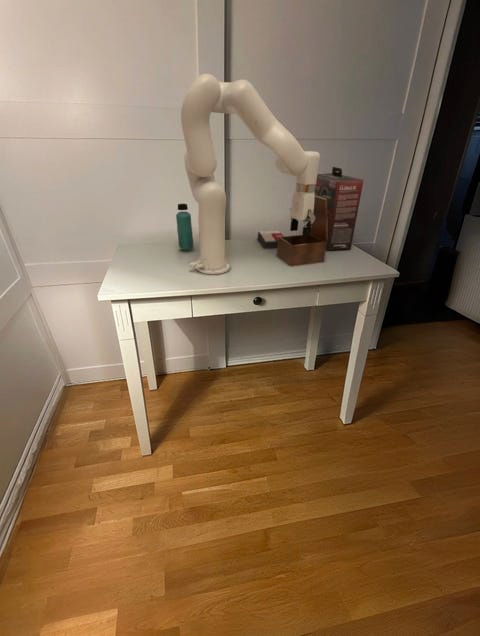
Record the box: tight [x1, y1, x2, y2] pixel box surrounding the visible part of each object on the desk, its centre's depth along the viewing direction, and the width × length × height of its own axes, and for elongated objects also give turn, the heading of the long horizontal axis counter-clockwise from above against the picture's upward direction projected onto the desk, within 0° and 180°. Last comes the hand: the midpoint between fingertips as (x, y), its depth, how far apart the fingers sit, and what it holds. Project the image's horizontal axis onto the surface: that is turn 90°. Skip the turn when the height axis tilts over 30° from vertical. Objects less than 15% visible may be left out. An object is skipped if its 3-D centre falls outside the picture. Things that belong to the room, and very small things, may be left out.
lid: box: [310, 195, 333, 241], centre depth 126 cm, size 16×13×6 cm
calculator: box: [257, 230, 284, 249], centre depth 149 cm, size 11×4×15 cm
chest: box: [276, 234, 327, 267], centre depth 130 cm, size 16×13×8 cm
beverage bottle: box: [175, 203, 194, 251], centre depth 134 cm, size 6×7×20 cm
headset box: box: [310, 166, 365, 251], centre depth 143 cm, size 25×12×33 cm, turn 12°
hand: (299, 233), depth 126 cm, fingers open, 9 cm apart
